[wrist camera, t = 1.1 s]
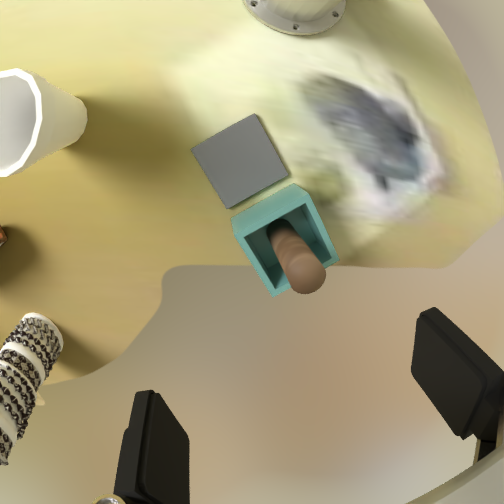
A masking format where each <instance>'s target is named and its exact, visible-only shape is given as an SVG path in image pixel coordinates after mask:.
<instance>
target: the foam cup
mask: <svg viewBox="0 0 504 504" xmlns="http://www.w3.org/2000/svg"><path fill="white" fill-rule="evenodd" d="M87 121H88V119H87V109H86V107H85V105H84V103H83V102H82V100H80V99H79V98H77V97H75V96H73V95H71V94H69V93H68V92H66V91H64V90H62V89H60V88H58V87H56V86H54V85H52V84H50V83H49V82H47V80H46V79H45V78H43V77H42V76H40V75H38V74H36V73H34V72H32V71H28V70H24V69H19V68H16V69H11V70H6V71H2V72H0V177H8V176H11V175H14V174H17V173H20V172H22V171H24V170H25V169H27V168H28V167H30V166H31V165H33V164H34V163H36V162H37V161H39V160H40V159H42V158H44V157H46V156H48V155H50V154H52V153H54V152H56V151H59V150H61V149H63V148H65V147H67V146H69V145H71V144H72V143H74V142H76V141H77V140H78V139H79V138H80V136H81V135H82V134H83V133H84V131H85V127H86V124H87Z"/></svg>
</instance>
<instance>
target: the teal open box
mask: <svg viewBox="0 0 504 504" xmlns="http://www.w3.org/2000/svg"><path fill="white" fill-rule="evenodd" d="M275 219H285V220H287V221H289V222H290V224H291V225H292V226H293V227H294V229H295V230H296V231H297V232H298V234H299V235H300V236H301V238H302V239H303V240H304V241H305V243H306V244H307V245H308V247H309V248H310V249H311V251H312V252H313V253H314V254H315V256H316V257H317V258H318V260H319V261H320V262H321V264H322V265H323V266H324V268H327V267H329V266H330V265H332V264H334V263H336V262H337V261H339V258H338V255H337V253H336V251H335V249H334V246H333V244H332V242H331V240H330V237H329V235H328V233H327V231H326V229H325V227H324V224H323V222H322V220H321V218H320V216H319V214H318V212H317V210H316V208H315V205H314V203H313V201H312V199H311V197H310V195H309V193H307V192H306V191H304V190H303V189H302V188H300V187H299V186H297V185H296V184H294V183H293V184H291V185H289V186H288V187H286V188H284V189H282V190H280V191H278V192H277V193H275V194H273V195H271V196H269V197H268V198H266V199H264V200H262V201H260V202H259V203H257V204H255V205H253V206H251V207H250V208H248V209H246V210H244V211H243V212H241V213H239V214H237V215H236V216H234V217H232V218H231V222H232V227H233V233H234V236H235V238H236V239H237V241H238V242H239V244H240V246H241V247H242V249H243V250H244V252H245V254H246V255H247V257H248V259H249V260H250V262H251V263H252V265H253V266H254V268H255V270H256V271H257V273H258V275H259V276H260V278H261V279H262V281H263V283H264V284H265V286H266V287H267V289H268V291H269V292H270V294H271V295H272V297H274V296H276V295H278V294H280V293H282V292H284V291H285V290H287V289H289V288H291V286H290V283H289V281H288V279H287V277H286V275H285V273H284V271H283V269H282V267H281V264H280V262H279V260H278V258H277V256H276V254H275V252H274V250H273V248H272V246H271V244H270V241H269V239H268V237H267V234H266V230H267V227H268V225H269V224H270V223H271V222H272V221H274V220H275Z"/></svg>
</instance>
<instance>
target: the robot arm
mask: <svg viewBox="0 0 504 504" xmlns="http://www.w3.org/2000/svg"><path fill="white" fill-rule="evenodd" d="M243 2H244V4H245V6H246V7H247V9H248V11H249V12H250V13H251V14H252V15H253V16H254V17H255V18H256V19H258V20H259V21H260V22H261V23H263V24H265V25H266V26H268V27H270V28H272V29H274V30H277V31H280V32H283V33H287V34H291V35H313V34H317V33H321V32H323V31H325V30H328V29H329V28H331V27H332V26H333V25H335V24H336V23H337V22H338V21H339V20H340V18H341V17H342V15H343V14H344V11H345V7H346V0H243ZM251 5H255V7H254V6H251ZM293 28H296V30H294V29H293ZM411 373H412V375H413V377H414V379H415V380H416V381H417V382H418V384H419V385H420V387H421V388H422V389H423V391H424V392H425V393H426V395H427V396H428V398H429V399H430V400H431V402H432V403H433V404H434V406H435V407H436V409H437V410H438V411H439V413H440V414H441V415H442V417H443V418H444V420H445V421H446V423H447V424H448V426H449V427H450V428H451V430H452V431H453V433H454V434H455V435H456V436H460V437H461V438H462V440H464V439H466V438H467V437H469V436H470V435H472V434H474V435H475V436H476V438H477V443H476V449H475V456H474V461H473V466H471V467H469V468H468V469H466V470H465V471H463V472H462V473H460V474H459V475H457V476H455V477H454V478H452V479H450V480H449V481H447V482H445V483H444V484H442V485H440V486H439V487H437V488H435V489H433V490H431V491H430V492H428V493H426V494H424V495H422V496H420V497H418V498H416V499H414V500H412V501H410V502H408V503H406V504H504V371H503V370H502V369H501V368H500V367H499V366H498V365H497V364H496V363H495V362H494V361H493V360H492V359H491V358H490V357H489V356H488V355H487V354H486V353H485V352H484V351H483V350H482V349H481V348H479V346H478V345H477V344H475V343H474V342H473V341H472V340H471V339H470V338H469V337H468V336H467V335H466V334H465V333H464V332H463V331H462V330H460V329H459V328H458V327H457V326H456V325H455V324H454V323H453V322H452V321H451V320H450V319H448V318H447V317H446V316H445V315H444V314H443V313H442V312H441V311H440V310H439V309H437V308H436V307H432V308H430V309H428V310H426V311H423V312H421V313H420V316H419V318H418V319H417V322H416V332H415V342H414V350H413V357H412V365H411ZM92 504H190V493H189V438H188V435H187V433H186V432H185V431H184V429H183V428H182V426H181V425H180V424H179V422H178V421H177V419H176V418H175V416H174V415H173V413H172V412H171V410H170V409H169V407H168V406H167V404H166V403H165V401H164V400H163V398H162V397H161V395H160V394H159V393H155V392H154V391H153V390H147V391H140V392H137V393H136V394H135V398H134V402H133V407H132V412H131V417H130V421H129V427H128V428H127V429H126V430H125V432H124V435H123V440H122V445H121V451H120V456H119V462H118V467H117V474H116V480H115V486H114V493H113V494H103V495H101V496H99V497H97V498H96V499H95V500H94V501H93V502H92Z"/></svg>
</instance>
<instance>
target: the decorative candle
mask: <svg viewBox="0 0 504 504" xmlns="http://www.w3.org/2000/svg"><path fill="white" fill-rule="evenodd" d="M15 328H16V330H13V332H11V333H10V336H9V337H8V338H6V340H5V342H4V344H3V346H4V347H3V348H2V349H1V351H0V465H5V466H6V465H8V461H7V458H8V456H9V454H10V452H11V448H12V447H14V446H15V443H16V440H18V439H19V438H20V439H21V438H22V437H23V434H24V430H25V428H26V427H27V426H28V422H27V420H28V418H29V417H30V414H31V413H32V409H33V408H32V407H35V402H36V398H37V394H36V392H37V390H38V388H39V387H40V386H41V385H42V383H43V381H44V380H45V379H46V377H48V376H49V370H52V366H53V364H55V363H56V361H57V357H59V356H60V351H62V348H63V344H64V342H63V338H62V334H61V333H60V331H59V329H58V328H57V326H56V325H55V324H54V323H53V322H52V321H51V320H50V319H49V318H47V317H45V316H43V315H42V314H39V313H34V312H31V313H28V314H26V315H25V316H24V317H23V319H22V320H20V324H18V325H16V326H15ZM22 421H23V423H22ZM17 432H19V433H18V434H17Z"/></svg>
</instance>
